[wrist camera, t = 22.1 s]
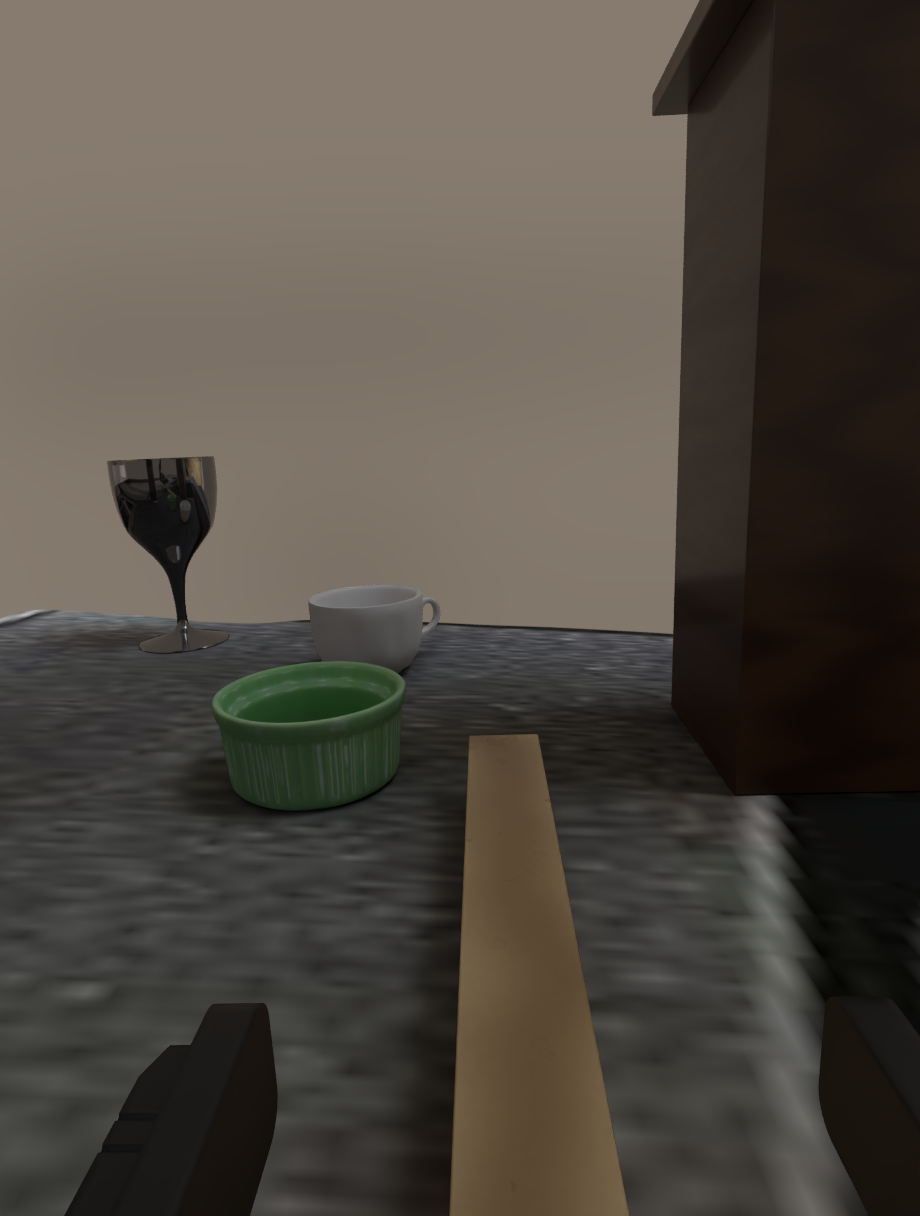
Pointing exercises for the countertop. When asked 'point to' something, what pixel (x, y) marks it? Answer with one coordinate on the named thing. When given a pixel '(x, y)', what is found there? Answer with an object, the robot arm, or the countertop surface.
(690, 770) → the countertop surface
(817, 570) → the walnut stand
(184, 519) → the wine glass
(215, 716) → the ramekin
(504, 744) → the beech bar
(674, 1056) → the countertop surface
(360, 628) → the teacup
